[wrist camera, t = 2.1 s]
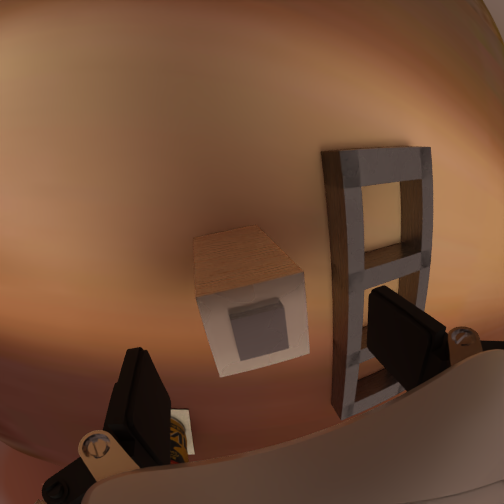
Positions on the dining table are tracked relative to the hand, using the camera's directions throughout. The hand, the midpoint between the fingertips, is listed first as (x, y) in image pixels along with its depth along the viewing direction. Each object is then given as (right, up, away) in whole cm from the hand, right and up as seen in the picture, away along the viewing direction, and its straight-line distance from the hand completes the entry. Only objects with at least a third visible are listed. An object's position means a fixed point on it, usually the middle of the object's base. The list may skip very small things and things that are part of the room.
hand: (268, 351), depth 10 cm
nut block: (-2, +3, +7) cm, 8 cm away
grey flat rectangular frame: (+10, 0, +11) cm, 15 cm away
